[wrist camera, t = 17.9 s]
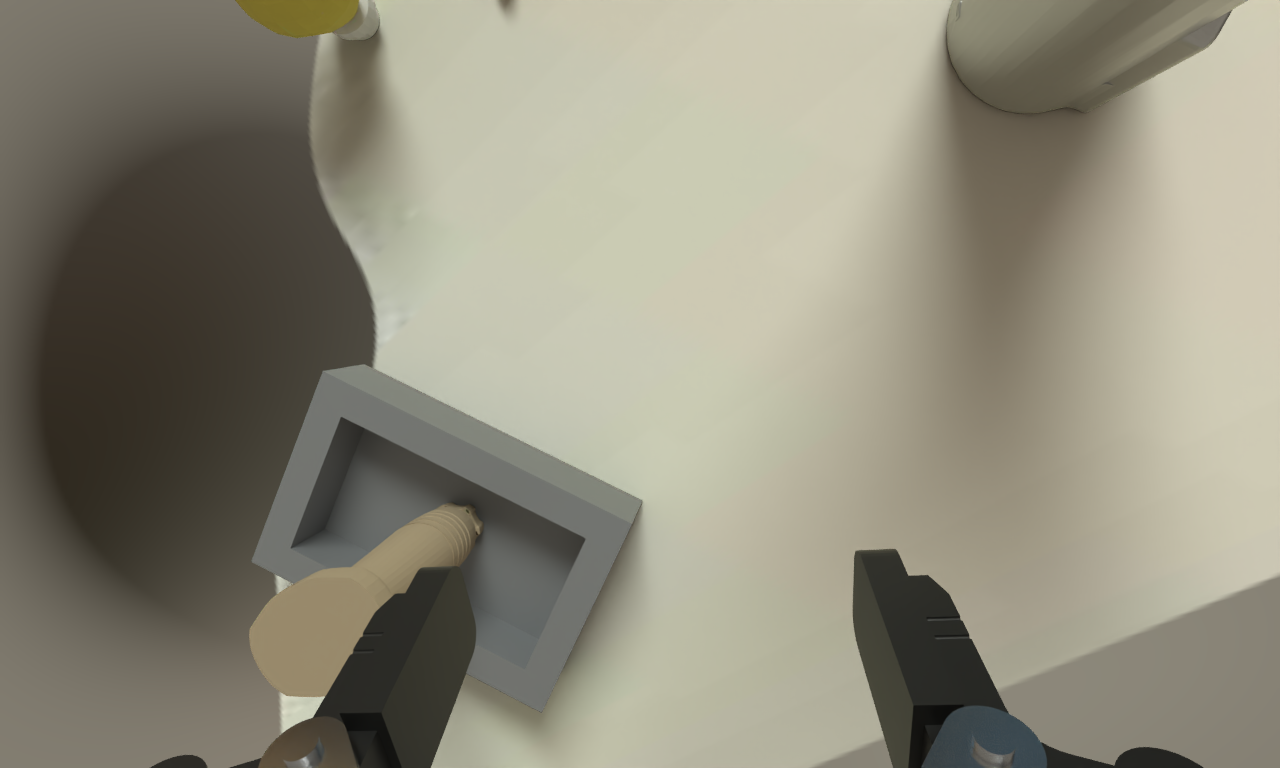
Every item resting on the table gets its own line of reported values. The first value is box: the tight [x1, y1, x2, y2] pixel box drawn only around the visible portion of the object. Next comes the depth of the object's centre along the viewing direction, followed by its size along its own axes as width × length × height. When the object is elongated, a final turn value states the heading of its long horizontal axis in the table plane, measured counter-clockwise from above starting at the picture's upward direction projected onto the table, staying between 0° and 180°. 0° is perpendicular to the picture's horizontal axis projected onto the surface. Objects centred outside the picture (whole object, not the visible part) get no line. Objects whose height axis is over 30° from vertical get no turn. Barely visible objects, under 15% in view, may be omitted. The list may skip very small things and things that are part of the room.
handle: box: [249, 502, 484, 697], centre depth 35 cm, size 5×6×15 cm
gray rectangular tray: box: [252, 364, 642, 713], centre depth 42 cm, size 20×13×4 cm, turn 65°
